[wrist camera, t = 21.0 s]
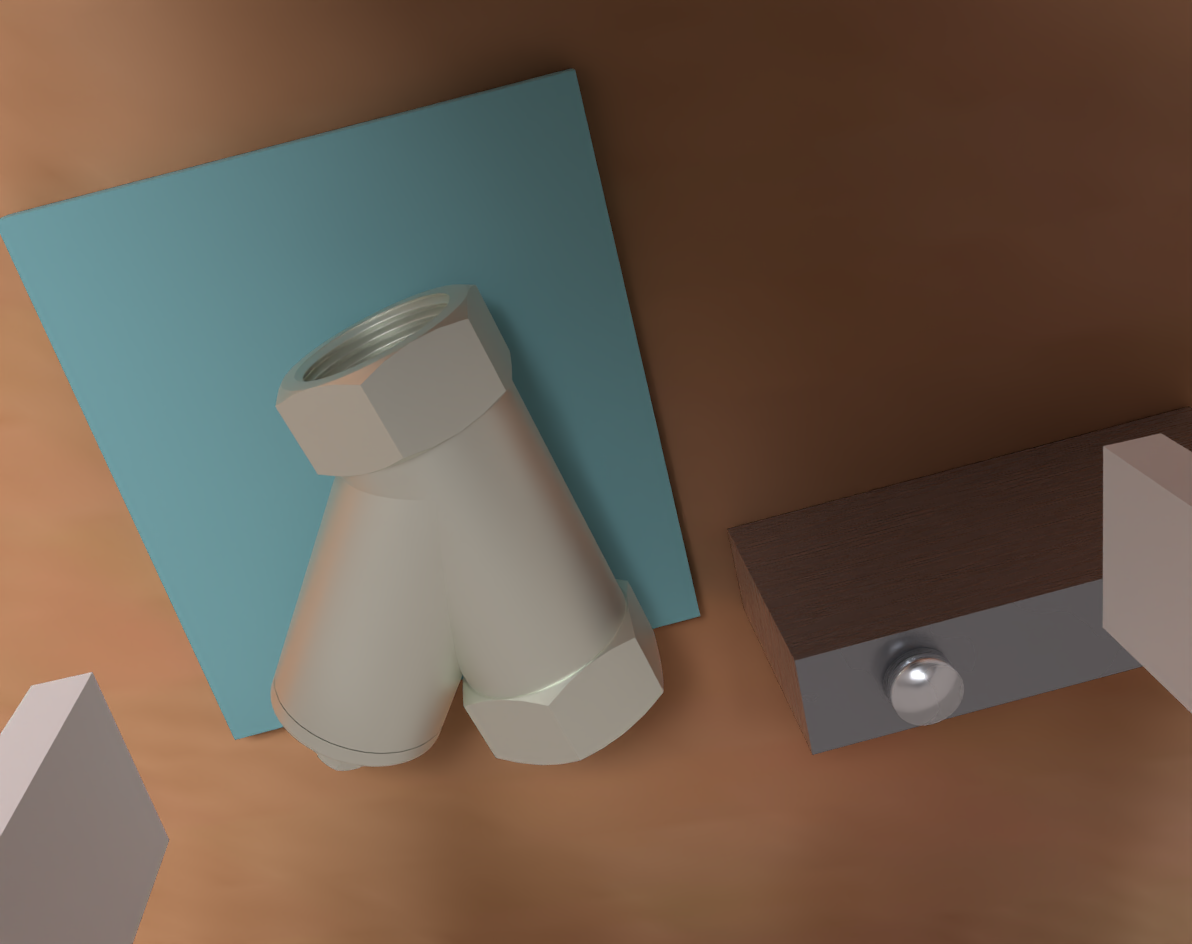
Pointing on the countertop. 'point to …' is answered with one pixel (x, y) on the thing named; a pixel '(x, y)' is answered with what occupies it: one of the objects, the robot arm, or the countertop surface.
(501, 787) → the countertop surface
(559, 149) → the mat
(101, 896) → the robot arm
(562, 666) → the pipe fitting
